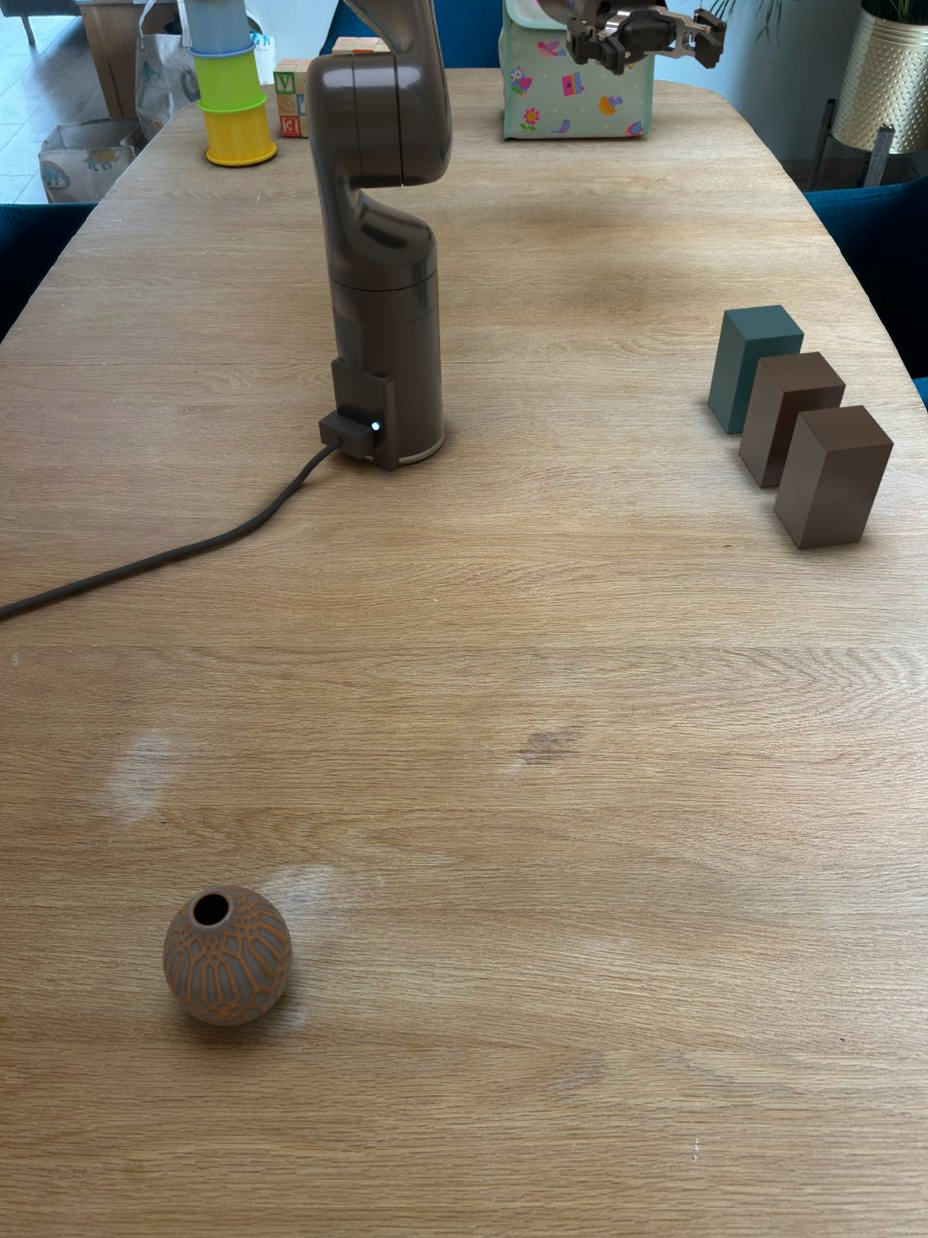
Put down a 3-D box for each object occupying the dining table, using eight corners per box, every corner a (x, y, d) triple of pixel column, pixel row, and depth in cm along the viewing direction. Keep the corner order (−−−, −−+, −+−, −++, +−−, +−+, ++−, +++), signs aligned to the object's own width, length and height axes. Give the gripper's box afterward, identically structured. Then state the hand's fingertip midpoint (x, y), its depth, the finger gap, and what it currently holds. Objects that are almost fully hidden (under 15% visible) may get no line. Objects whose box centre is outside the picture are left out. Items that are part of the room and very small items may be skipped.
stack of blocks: (280, 137, 152) (268, 47, 143) (290, 122, 156) (278, 34, 147) (420, 140, 150) (416, 49, 141) (425, 125, 154) (422, 36, 146)
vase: (185, 934, 60) (151, 855, 54) (301, 923, 60) (280, 844, 54) (172, 1050, 55) (133, 978, 49) (298, 1037, 56) (274, 965, 49)
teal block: (781, 427, 96) (804, 333, 89) (726, 434, 95) (746, 339, 88) (760, 396, 100) (780, 303, 93) (707, 402, 99) (724, 309, 92)
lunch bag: (496, 146, 148) (498, -71, 129) (498, 107, 159) (500, -97, 140) (652, 146, 147) (677, -73, 128) (643, 107, 158) (665, -99, 139)
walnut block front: (860, 541, 84) (894, 443, 77) (798, 549, 84) (827, 451, 77) (832, 501, 88) (862, 404, 81) (773, 509, 87) (798, 411, 80)
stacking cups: (195, 165, 144) (136, -131, 120) (223, 139, 152) (172, -145, 127) (262, 170, 143) (216, -129, 118) (287, 144, 150) (248, -144, 125)
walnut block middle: (818, 481, 90) (846, 384, 83) (760, 488, 90) (783, 391, 82) (793, 446, 94) (819, 350, 87) (738, 452, 93) (758, 357, 86)
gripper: (550, -29, 97) (593, 16, 85) (691, -38, 98) (752, 6, 87) (547, 56, 102) (586, 110, 91) (681, 47, 104) (737, 99, 92)
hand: (667, 59), depth 89 cm, fingers open, 8 cm apart
